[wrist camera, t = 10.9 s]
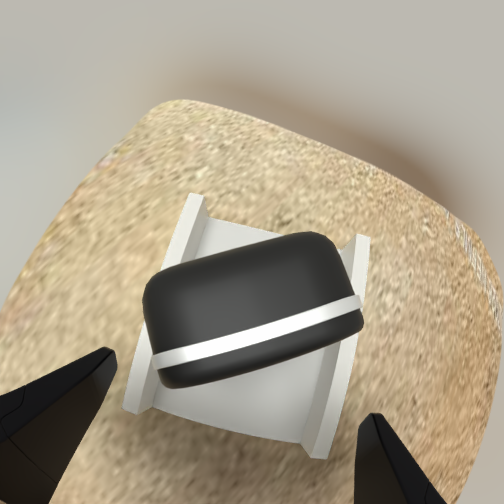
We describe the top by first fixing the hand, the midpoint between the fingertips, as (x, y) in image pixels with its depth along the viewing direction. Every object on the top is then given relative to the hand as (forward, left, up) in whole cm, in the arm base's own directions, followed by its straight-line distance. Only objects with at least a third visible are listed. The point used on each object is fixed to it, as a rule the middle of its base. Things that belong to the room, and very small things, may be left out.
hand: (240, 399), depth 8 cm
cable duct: (+2, -2, -10) cm, 11 cm away
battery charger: (+3, -2, -9) cm, 10 cm away
